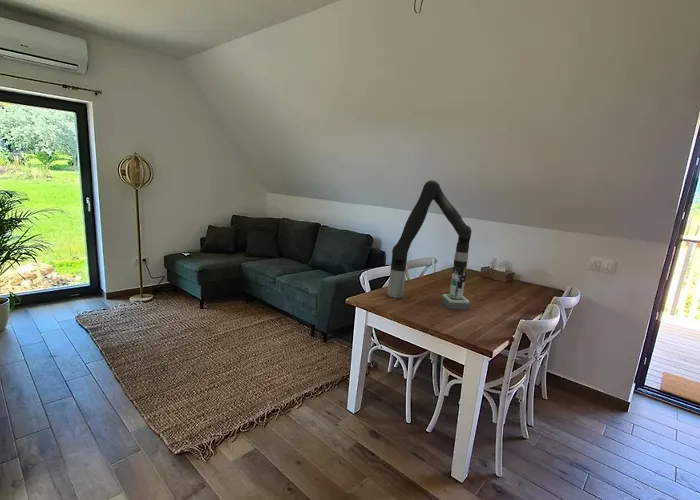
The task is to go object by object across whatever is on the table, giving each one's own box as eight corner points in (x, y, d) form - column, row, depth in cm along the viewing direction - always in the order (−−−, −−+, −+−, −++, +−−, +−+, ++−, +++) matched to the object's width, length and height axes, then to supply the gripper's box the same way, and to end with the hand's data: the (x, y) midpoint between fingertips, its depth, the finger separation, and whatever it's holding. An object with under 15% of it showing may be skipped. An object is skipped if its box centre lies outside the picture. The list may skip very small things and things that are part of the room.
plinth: (449, 309, 217) (450, 300, 216) (441, 302, 228) (442, 294, 227) (468, 309, 218) (469, 301, 217) (460, 302, 230) (461, 294, 229)
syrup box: (448, 296, 223) (451, 272, 220) (456, 295, 226) (459, 272, 223) (455, 299, 218) (458, 275, 216) (462, 298, 221) (466, 274, 218)
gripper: (450, 256, 224) (446, 282, 227) (459, 261, 210) (455, 289, 213) (462, 257, 225) (458, 283, 228) (472, 262, 211) (468, 290, 214)
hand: (457, 286), depth 221 cm, fingers closed on syrup box, 7 cm apart
